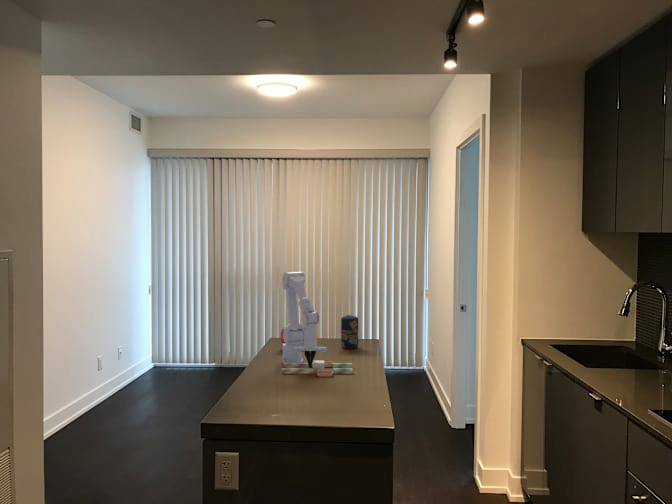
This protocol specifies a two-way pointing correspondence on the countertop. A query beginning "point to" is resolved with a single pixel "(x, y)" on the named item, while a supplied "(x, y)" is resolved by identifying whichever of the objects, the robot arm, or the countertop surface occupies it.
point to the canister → (349, 331)
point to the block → (318, 364)
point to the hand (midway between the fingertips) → (310, 367)
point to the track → (304, 369)
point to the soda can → (282, 338)
